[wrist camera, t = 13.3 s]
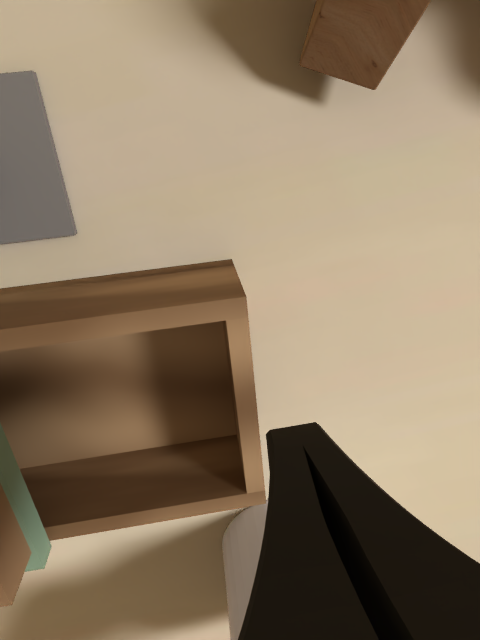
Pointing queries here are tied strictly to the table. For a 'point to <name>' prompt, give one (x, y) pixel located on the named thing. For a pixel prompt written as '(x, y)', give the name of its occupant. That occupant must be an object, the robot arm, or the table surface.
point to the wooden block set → (359, 37)
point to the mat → (29, 166)
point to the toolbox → (131, 397)
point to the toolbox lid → (17, 527)
